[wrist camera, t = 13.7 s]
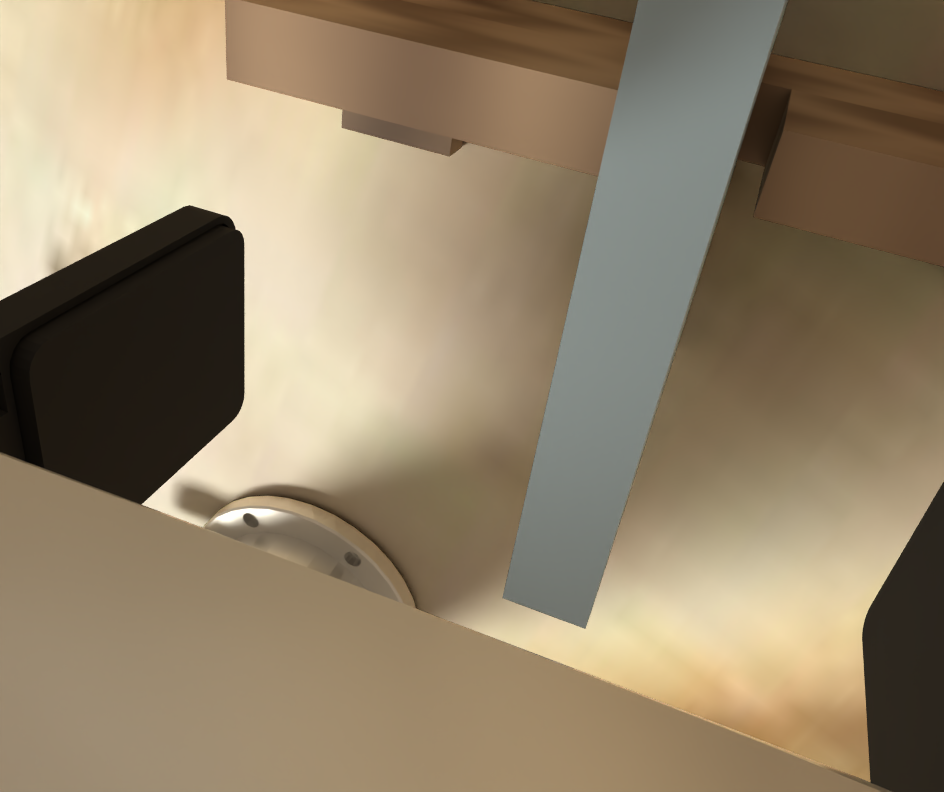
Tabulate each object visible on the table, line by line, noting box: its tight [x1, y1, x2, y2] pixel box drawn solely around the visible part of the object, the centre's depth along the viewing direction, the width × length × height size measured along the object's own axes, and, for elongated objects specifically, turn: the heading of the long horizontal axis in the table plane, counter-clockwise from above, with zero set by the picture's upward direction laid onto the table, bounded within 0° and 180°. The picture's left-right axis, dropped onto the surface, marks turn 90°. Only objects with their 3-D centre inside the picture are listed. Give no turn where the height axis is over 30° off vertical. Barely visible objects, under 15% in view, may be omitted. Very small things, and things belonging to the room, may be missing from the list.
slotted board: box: [225, 0, 944, 267], centre depth 22 cm, size 24×8×8 cm, turn 82°
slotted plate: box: [503, 0, 788, 628], centre depth 20 cm, size 18×2×14 cm, turn 172°
